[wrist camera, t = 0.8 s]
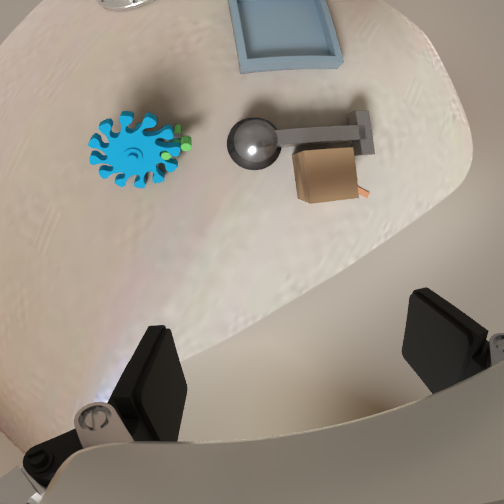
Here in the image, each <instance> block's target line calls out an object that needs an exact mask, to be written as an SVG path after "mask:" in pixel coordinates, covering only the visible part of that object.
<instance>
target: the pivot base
mask: <svg viewBox="0 0 504 504" xmlns="http://www.w3.org/2000/svg"><path fill="white" fill-rule="evenodd" d="M249 120H262V121H265V122H267V123H269V124H270V125H271V126H272V127H273V128H274V129H275V130H277V129H276V128H275V127H274V125H272V124H271V123H270V122H268V121H266V120H264V119H261V118H248V119H244V120H242V121H240V122H238V123H237V124H236V125H235V126H234V127H233V128H232V129H231V131H230V133H229V135H228V139H227V148H228V152H229V154H230V156H231V158H232V159H233V161H234V162H235V163H237V164H238V165H239V166H241V167H243V168H245V169H249V170H260V169H263V168H266V167H268V166H270V165H271V164H272V163H274V162H275V160H276V159H277V158H278V156H279V154H280V151H281V147H277V148H276V150H275V152H274V153H273V155H272V156H270V157H269V158H268V159H266V160H264V161H262V162H258V163H252V162H248V161H245V160H244V159H242V158H241V157H240V156H239V155H238V154H237V152H236V150H235V146H234V136H235V133H236V131H237V129H238V128H239V127H240V125H242V124H243V123H245V122H247V121H249ZM358 194H360V195H362V196H364V197H366V198H368V195H369V192H367V191H365V190H363V189H361V188H359V187H358Z"/></svg>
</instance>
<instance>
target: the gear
mask: <svg viewBox="0 0 504 504" xmlns="http://www.w3.org/2000/svg"><path fill="white" fill-rule="evenodd" d="M133 118H134V113H133V112H130V111H122V113H121V115H120V118H119V121H120V123H121V131H120V132H119V133H114V132H112V130H111V128H112V125H113V121H112V120H111V119H106V120H103V121H102V122H101V123H100V125H99V130H100V131H101V132H102V133H103V134H105V135H106V137H107V138H108V141H109V143H104V142H103V141H102V139H101V136H100V135H99V134H97V133H95V134H94V135H93V136H92V137H91V139H90V141H89V143H88V146H89V147H91V148H96V149H99V150H101V151H103V152H104V153H105V154H106V155H102V154H101V153H99V152H98V151H92V153H91V156H90V164H92V165H95V164H99V163H105V164H109V165H112V166H107V165H102V166H101V167H100V169H99V174H100V176H101V177H102V178H103V179H105V178H107V177H108V176H110V175H111V174H113V173H118V172H122V173H124V174H118V175H117V176H116V179H115V184H117V185H119V186H121V187H123V186H125V184H126V181H127V179H128V178H129V177H131V176H132V175H139V176H138V177H136V178H135V183H134V186H135V187H138V188H144V187H145V184H146V178H145V176H144V175H145V174H146V172H148V171H151V172H153V182H154V183H159V182H162V181H164V173H163V172H162V171H161V170H160V169H159V168H158V166H157V164H158V163H163V164H165V168H166V170H167V171H168V172H173V171H174V170H175V169H176V168H177V167H178V161H177V160H176V159H172V158H171V155H172V156H175V157H177V156H178V155H179V154H180V149H182V150H183V151H189V150H190V149H191V137H190V136H183V135H182V134H181V125H180V124H177V125H175V130H173V127H172V126H171V125H165V126H164V127H163V128H161V129H160V130H157V131H152V132H147V131H145V130H144V129H145V128H152V127H154V126H155V125H156V123H157V119H158V118H157V117H156V116H155V115H153V114H152V113H150V112H148V113H146V114H145V116H144V120H143V121H142V123H138V124H137V125H136V128H134V129H130V128H128V127H127V126H128V125H129V124H131V123H132V121H133ZM161 151H162V152H161Z"/></svg>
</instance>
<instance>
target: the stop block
mask: <svg viewBox="0 0 504 504" xmlns="http://www.w3.org/2000/svg"><path fill="white" fill-rule="evenodd" d="M292 159H293V166H294V173H295V181H296V188H297V196H298V199H301V200H303V201H305V202H308V203H310V204H311V203H319V202H328V201H336V200H345V199H353V198H359V194H358V184H357V174H356V166H355V158H354V150H353V147H349V148H332V149H319V150H307V151H302V152H299V153H296V154H293V155H292Z"/></svg>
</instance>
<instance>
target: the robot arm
mask: <svg viewBox="0 0 504 504" xmlns="http://www.w3.org/2000/svg"><path fill="white" fill-rule="evenodd" d="M97 1H98V2H99V4H100V5H101V6H102V7H104V8H106V9H108V10H113V11H124V10H130V9H134V8H137V7H140V6H143V5H145V4H148V3H150V2H152V1H154V0H97ZM487 334H488V330H486V329H485V328H484V327H482V326H481V325H480V324H478V323H477V322H475V321H474V320H473V319H471V318H470V317H469V316H467V315H466V314H465V313H463V312H462V311H460V310H459V309H458V308H456V307H455V306H453V305H452V304H451V303H449V302H448V301H446V300H445V299H443V298H442V297H440V296H439V295H438V294H436V293H435V292H433V291H431V290H430V289H429V288H422V289H417V290H414V291H413V293H412V294H411V295H410V298H409V306H408V314H407V321H406V328H405V335H404V340H403V346H402V355H403V357H404V359H405V360H406V361H407V362H408V364H409V365H410V366H411V367H412V368H413V370H414V371H415V372H416V373H417V375H418V376H419V377H420V378H421V380H422V381H423V382H424V383H425V385H426V386H427V387H428V388H429V390H430V391H431V392H432V395H429V396H427V397H424V398H422V399H419V400H416V401H414V402H411V403H408V404H406V405H403V406H400V407H397V408H394V409H391V410H388V411H385V412H381V413H378V414H375V415H372V416H368V417H364V418H361V419H357V420H353V421H349V422H345V423H341V424H337V425H333V426H328V427H324V428H318V429H313V430H308V431H303V432H297V433H291V434H284V435H277V436H269V437H260V438H250V439H239V440H223V441H196V442H195V441H190V442H189V441H188V442H177V440H178V435H179V429H180V424H181V419H182V415H183V410H184V405H185V400H186V395H187V384H186V380H185V377H184V374H183V371H182V367H181V364H180V361H179V357H178V354H177V351H176V347H175V343H174V340H173V336H172V333H171V330H170V329H166V327H165V326H164V325H157V326H149V327H148V329H147V330H146V332H145V334H144V336H143V338H142V339H141V341H140V343H139V345H138V347H137V349H136V350H135V352H134V354H133V356H132V358H131V360H130V361H129V362H128V364H127V366H126V368H125V370H124V372H123V373H122V375H121V377H120V379H119V381H118V383H117V385H116V387H115V389H114V391H113V393H112V395H111V397H110V399H109V401H108V403H104V402H94V403H91V404H88V405H86V406H84V407H82V408H81V409H80V410H79V411H78V412H77V414H76V415H75V418H74V426H75V429H73V430H71V431H69V432H66V433H64V434H62V435H60V436H57V437H55V438H53V439H50V440H48V441H45V442H43V443H41V444H38V445H36V446H34V447H32V448H30V449H29V450H28V451H27V452H26V454H25V456H24V459H23V467H22V468H20V467H19V466H17V467H15V468H14V469H12V470H11V471H10V472H8V473H7V474H6V475H4V476H3V477H1V478H0V504H504V333H498V334H494V335H493V336H491V338H490V340H489V342H488V341H487V340H486V338H487Z"/></svg>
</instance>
